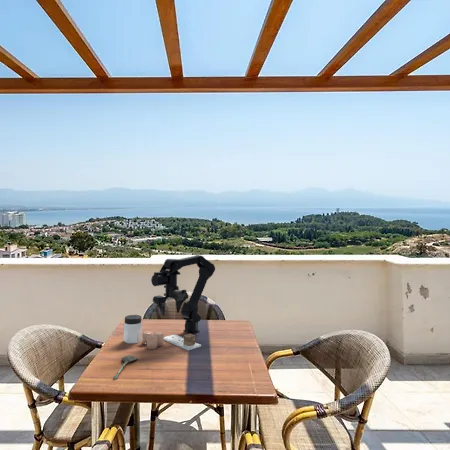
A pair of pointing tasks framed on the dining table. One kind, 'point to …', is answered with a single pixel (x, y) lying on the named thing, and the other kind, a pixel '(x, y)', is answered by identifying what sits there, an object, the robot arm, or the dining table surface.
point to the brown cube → (189, 339)
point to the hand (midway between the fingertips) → (170, 314)
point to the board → (180, 342)
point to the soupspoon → (125, 359)
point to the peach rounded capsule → (160, 338)
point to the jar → (133, 329)
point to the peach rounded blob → (152, 342)
